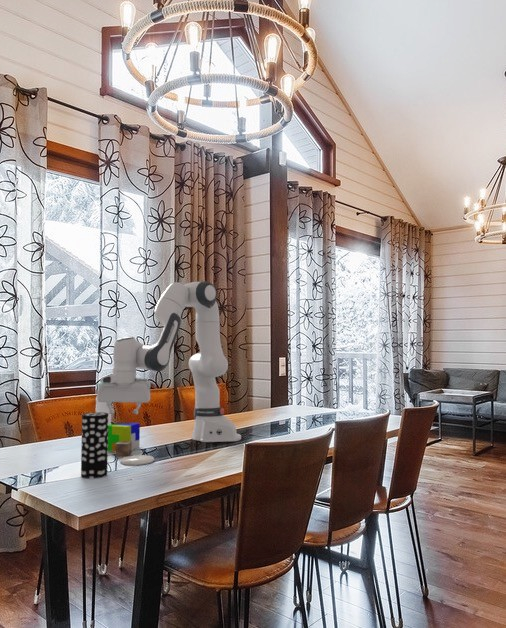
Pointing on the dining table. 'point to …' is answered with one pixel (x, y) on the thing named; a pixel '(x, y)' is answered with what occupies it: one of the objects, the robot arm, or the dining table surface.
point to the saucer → (137, 460)
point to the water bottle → (103, 408)
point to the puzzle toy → (123, 434)
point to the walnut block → (123, 448)
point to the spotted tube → (94, 445)
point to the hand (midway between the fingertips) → (123, 414)
